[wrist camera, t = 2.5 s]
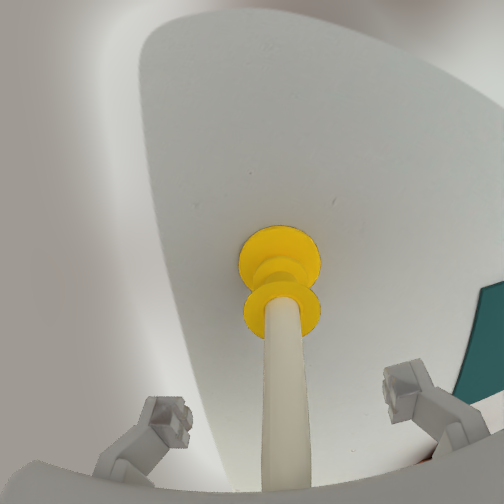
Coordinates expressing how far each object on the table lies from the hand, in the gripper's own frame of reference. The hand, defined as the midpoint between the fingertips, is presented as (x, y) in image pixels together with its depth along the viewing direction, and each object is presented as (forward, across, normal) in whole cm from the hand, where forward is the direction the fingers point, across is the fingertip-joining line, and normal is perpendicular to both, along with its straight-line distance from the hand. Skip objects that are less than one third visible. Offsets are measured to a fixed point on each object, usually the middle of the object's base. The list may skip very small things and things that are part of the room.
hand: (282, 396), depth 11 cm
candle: (+10, 0, 0) cm, 10 cm away
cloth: (+10, -22, +14) cm, 28 cm away
